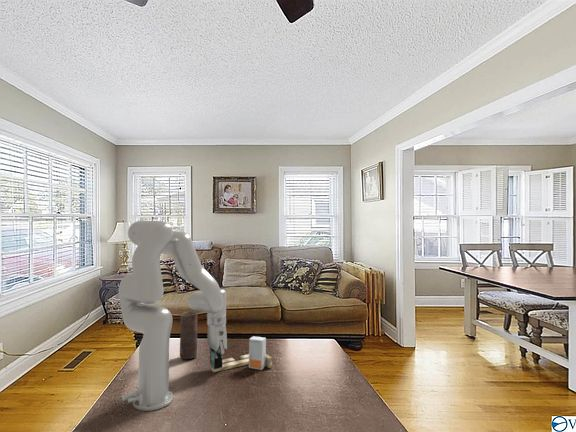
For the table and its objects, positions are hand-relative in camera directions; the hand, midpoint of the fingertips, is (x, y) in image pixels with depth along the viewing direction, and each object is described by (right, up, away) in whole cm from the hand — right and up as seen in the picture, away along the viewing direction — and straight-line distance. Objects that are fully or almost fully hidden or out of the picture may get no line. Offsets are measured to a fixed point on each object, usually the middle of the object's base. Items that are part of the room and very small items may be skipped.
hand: (216, 365), depth 148 cm
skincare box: (+16, -2, +3) cm, 17 cm away
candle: (-15, -2, +13) cm, 20 cm away
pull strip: (+10, -2, +3) cm, 10 cm away
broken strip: (+8, -2, +11) cm, 14 cm away
